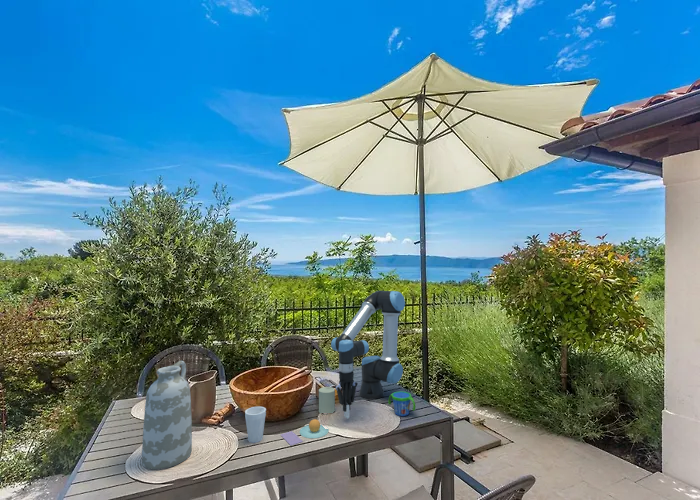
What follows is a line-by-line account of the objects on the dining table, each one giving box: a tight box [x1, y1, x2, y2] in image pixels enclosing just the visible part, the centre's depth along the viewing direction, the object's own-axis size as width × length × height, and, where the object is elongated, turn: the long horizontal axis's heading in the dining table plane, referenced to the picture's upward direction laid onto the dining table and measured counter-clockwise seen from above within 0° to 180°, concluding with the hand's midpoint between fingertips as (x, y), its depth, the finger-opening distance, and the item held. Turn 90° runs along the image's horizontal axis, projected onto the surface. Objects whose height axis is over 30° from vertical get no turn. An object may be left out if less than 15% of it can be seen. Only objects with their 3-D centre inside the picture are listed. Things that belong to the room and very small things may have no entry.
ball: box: [308, 418, 321, 432], centre depth 165 cm, size 6×6×6 cm
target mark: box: [299, 424, 329, 439], centre depth 165 cm, size 14×14×1 cm
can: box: [318, 386, 336, 414], centre depth 189 cm, size 9×9×12 cm
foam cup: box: [244, 406, 267, 443], centre depth 158 cm, size 10×9×13 cm
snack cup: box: [387, 390, 416, 417], centre depth 184 cm, size 16×10×10 cm
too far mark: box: [280, 430, 304, 446], centre depth 158 cm, size 6×12×1 cm, turn 34°
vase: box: [141, 360, 193, 471], centre depth 145 cm, size 20×19×38 cm
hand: (346, 417), depth 176 cm, fingers closed
